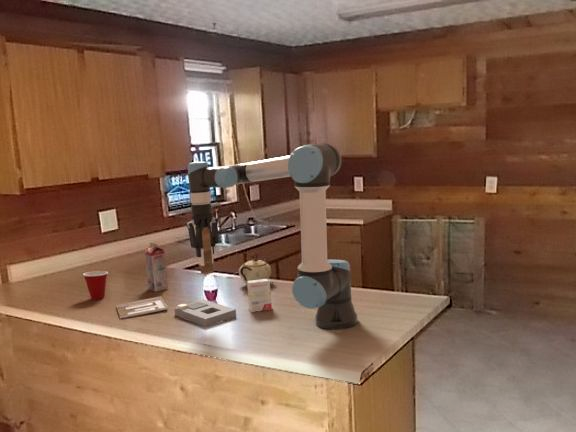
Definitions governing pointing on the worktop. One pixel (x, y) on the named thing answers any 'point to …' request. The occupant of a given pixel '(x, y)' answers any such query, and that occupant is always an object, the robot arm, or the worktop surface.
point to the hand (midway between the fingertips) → (206, 264)
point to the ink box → (259, 295)
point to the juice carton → (156, 268)
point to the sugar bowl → (255, 269)
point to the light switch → (143, 303)
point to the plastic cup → (96, 283)
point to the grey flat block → (205, 312)
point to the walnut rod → (206, 252)
